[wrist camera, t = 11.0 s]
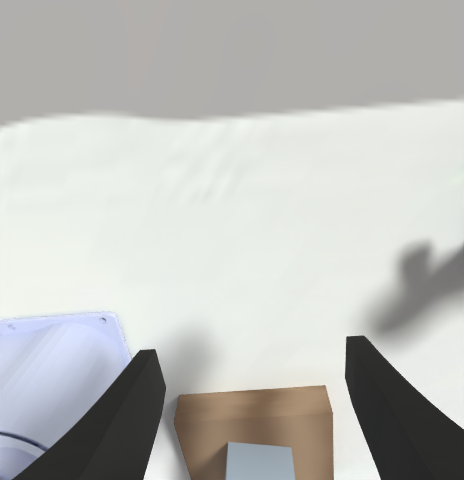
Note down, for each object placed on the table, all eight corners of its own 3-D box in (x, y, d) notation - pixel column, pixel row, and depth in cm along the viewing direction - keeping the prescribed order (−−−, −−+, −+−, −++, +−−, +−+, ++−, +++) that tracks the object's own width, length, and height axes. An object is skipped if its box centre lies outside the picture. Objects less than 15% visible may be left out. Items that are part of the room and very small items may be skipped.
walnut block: (204, 475, 33) (201, 510, 30) (180, 390, 28) (173, 422, 25) (326, 469, 32) (334, 505, 29) (323, 379, 27) (332, 412, 24)
